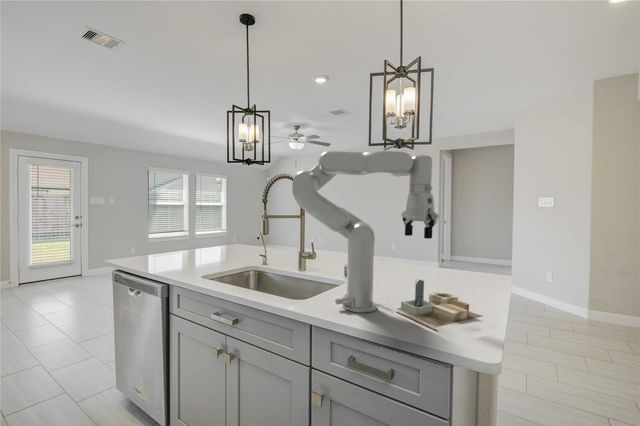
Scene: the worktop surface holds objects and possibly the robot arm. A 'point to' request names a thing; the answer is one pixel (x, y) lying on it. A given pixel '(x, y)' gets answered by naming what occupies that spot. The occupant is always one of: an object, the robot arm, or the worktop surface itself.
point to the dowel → (419, 293)
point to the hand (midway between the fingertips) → (417, 236)
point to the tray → (411, 308)
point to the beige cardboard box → (450, 312)
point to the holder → (441, 298)
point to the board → (440, 320)
